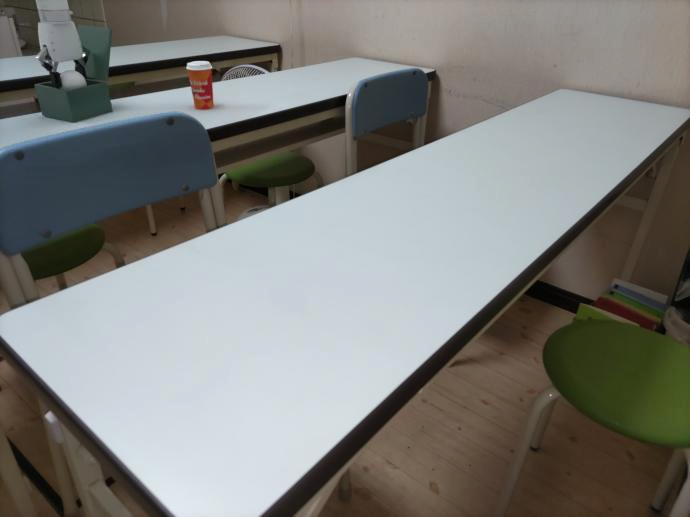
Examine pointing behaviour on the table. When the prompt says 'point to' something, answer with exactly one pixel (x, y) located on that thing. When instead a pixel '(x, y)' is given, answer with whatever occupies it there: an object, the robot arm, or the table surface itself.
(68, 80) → the white egg
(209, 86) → the paper cup
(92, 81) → the bin
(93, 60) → the bin lid
